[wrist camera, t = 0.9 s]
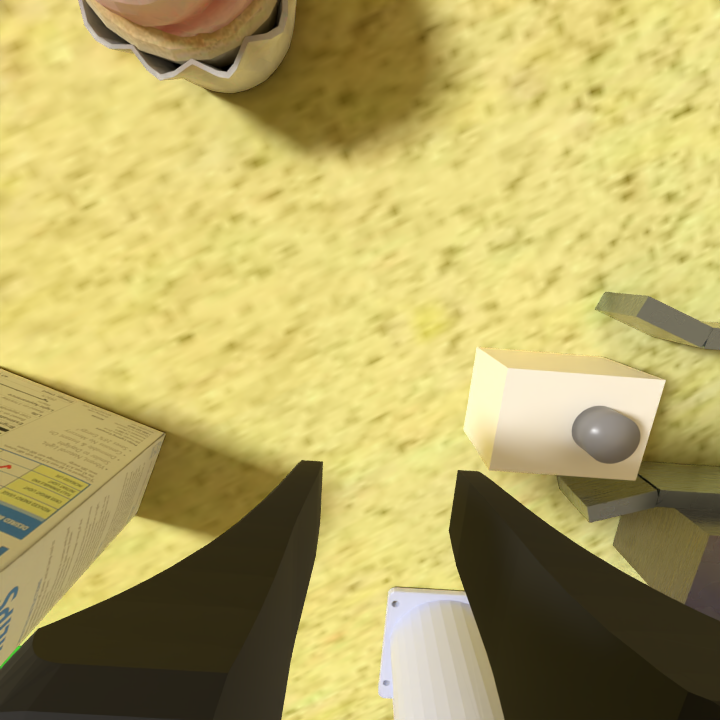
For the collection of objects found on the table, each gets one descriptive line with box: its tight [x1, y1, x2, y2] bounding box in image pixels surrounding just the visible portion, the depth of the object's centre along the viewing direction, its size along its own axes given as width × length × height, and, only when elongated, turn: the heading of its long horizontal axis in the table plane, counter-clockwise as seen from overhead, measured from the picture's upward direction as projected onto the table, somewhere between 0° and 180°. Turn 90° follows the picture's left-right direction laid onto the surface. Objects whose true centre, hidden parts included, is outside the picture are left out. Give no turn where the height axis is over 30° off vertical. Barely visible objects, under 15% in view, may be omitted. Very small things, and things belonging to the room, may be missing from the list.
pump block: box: [464, 347, 666, 481], centre depth 18 cm, size 5×7×6 cm
